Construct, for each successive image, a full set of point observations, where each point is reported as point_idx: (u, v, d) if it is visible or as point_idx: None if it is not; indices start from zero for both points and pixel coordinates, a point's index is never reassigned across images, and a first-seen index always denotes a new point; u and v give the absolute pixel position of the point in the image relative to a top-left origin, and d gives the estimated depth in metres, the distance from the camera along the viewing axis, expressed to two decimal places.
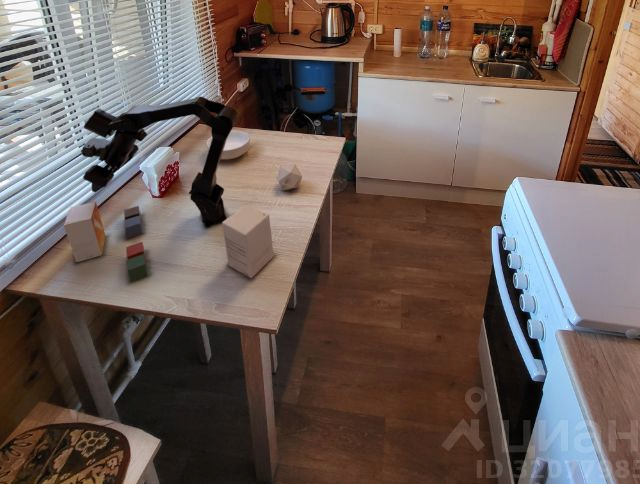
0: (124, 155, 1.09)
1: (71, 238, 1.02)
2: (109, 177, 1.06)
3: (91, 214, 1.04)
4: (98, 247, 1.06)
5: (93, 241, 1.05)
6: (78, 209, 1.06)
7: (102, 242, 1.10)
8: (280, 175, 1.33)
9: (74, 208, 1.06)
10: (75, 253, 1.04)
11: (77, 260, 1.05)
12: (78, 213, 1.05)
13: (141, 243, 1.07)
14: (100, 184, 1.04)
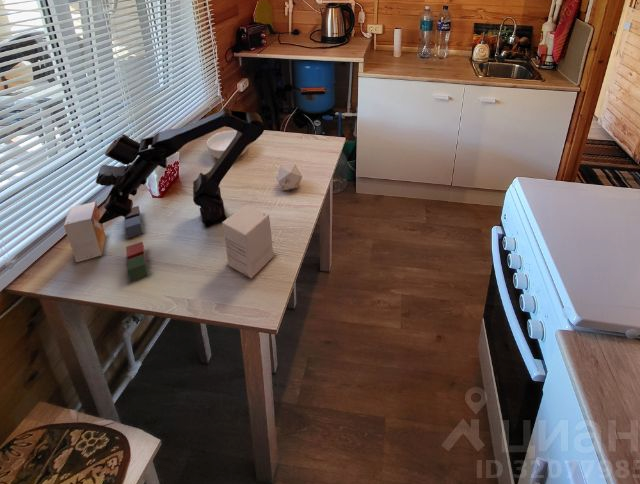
0: (144, 183, 1.07)
1: (71, 238, 1.02)
2: (131, 206, 1.02)
3: (91, 214, 1.04)
4: (98, 247, 1.06)
5: (93, 241, 1.05)
6: (78, 209, 1.06)
7: (102, 242, 1.10)
8: (280, 175, 1.33)
9: (74, 208, 1.06)
10: (75, 253, 1.04)
11: (77, 260, 1.05)
12: (78, 213, 1.05)
13: (141, 243, 1.07)
14: (123, 214, 1.00)
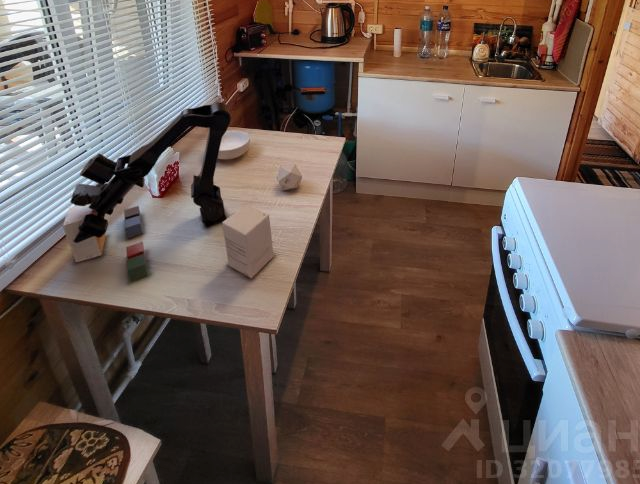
0: (120, 202, 1.06)
1: (70, 238, 1.02)
2: (106, 226, 1.02)
3: None
4: (98, 247, 1.06)
5: (92, 241, 1.05)
6: (77, 209, 1.06)
7: (102, 242, 1.10)
8: (280, 175, 1.33)
9: (73, 209, 1.06)
10: (75, 253, 1.04)
11: (77, 260, 1.05)
12: (77, 213, 1.05)
13: (141, 243, 1.07)
14: (97, 235, 1.00)
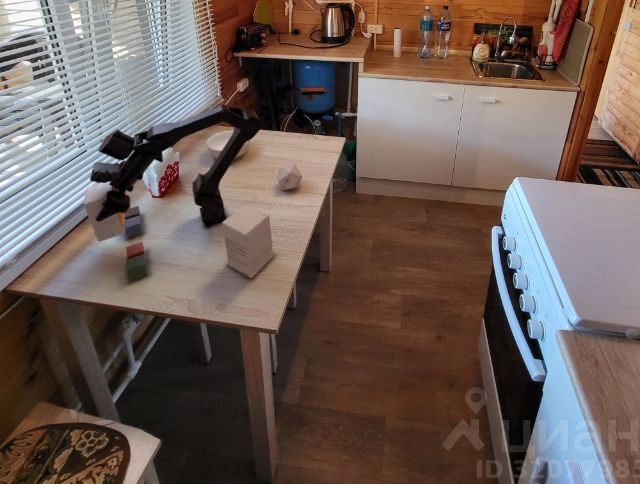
0: (140, 178, 1.05)
1: (92, 217, 1.00)
2: (129, 202, 1.00)
3: None
4: (120, 225, 1.05)
5: (114, 219, 1.03)
6: (95, 189, 1.04)
7: (122, 221, 1.08)
8: (280, 175, 1.33)
9: (92, 188, 1.04)
10: (97, 233, 1.02)
11: (99, 240, 1.03)
12: (96, 192, 1.03)
13: (141, 243, 1.07)
14: (122, 210, 0.98)
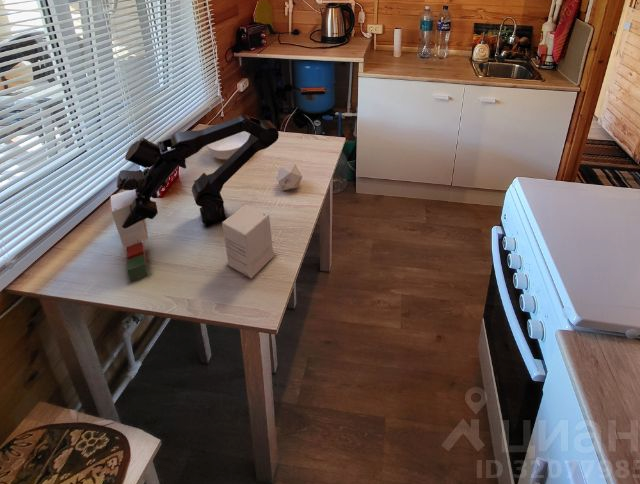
0: (165, 184, 1.08)
1: (119, 224, 1.02)
2: (156, 208, 1.03)
3: None
4: (145, 231, 1.07)
5: (139, 225, 1.06)
6: (120, 196, 1.06)
7: (145, 227, 1.10)
8: (280, 175, 1.33)
9: (116, 196, 1.06)
10: (123, 239, 1.04)
11: (125, 246, 1.05)
12: (122, 199, 1.05)
13: (141, 243, 1.07)
14: (150, 216, 1.01)
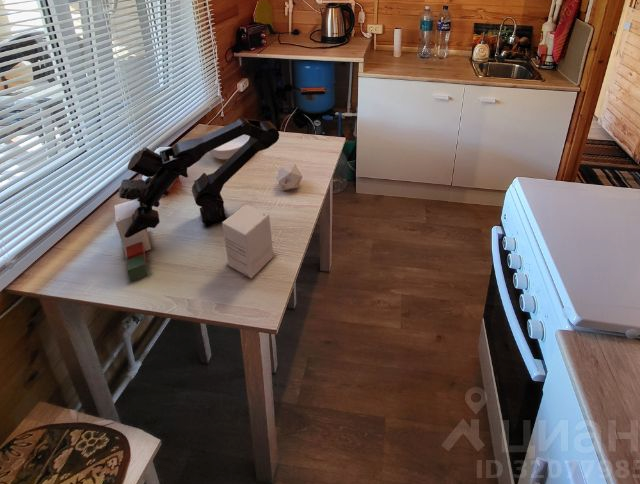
0: (166, 193, 1.09)
1: (122, 234, 1.04)
2: (158, 217, 1.04)
3: None
4: (147, 241, 1.08)
5: (142, 235, 1.07)
6: (124, 206, 1.07)
7: (148, 237, 1.11)
8: (280, 175, 1.33)
9: (120, 206, 1.07)
10: None
11: None
12: (126, 210, 1.06)
13: (141, 243, 1.07)
14: (152, 225, 1.02)
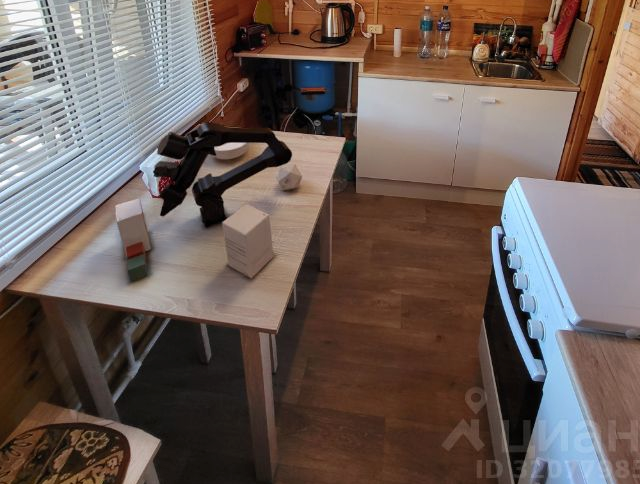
0: (195, 173, 1.11)
1: (123, 234, 1.04)
2: (184, 194, 1.06)
3: (140, 209, 1.06)
4: (148, 241, 1.08)
5: (143, 235, 1.07)
6: (125, 206, 1.07)
7: None
8: (280, 175, 1.33)
9: (121, 206, 1.08)
10: None
11: None
12: (127, 209, 1.06)
13: (141, 243, 1.07)
14: (177, 201, 1.04)
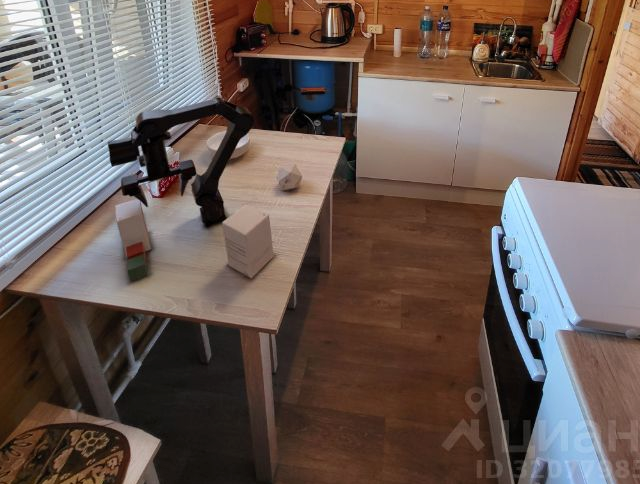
0: (147, 166, 1.03)
1: (123, 234, 1.04)
2: (129, 186, 1.02)
3: (140, 209, 1.06)
4: (148, 241, 1.08)
5: (143, 235, 1.07)
6: (125, 206, 1.07)
7: None
8: (280, 175, 1.33)
9: (121, 206, 1.08)
10: None
11: None
12: (127, 209, 1.06)
13: (141, 243, 1.07)
14: None
